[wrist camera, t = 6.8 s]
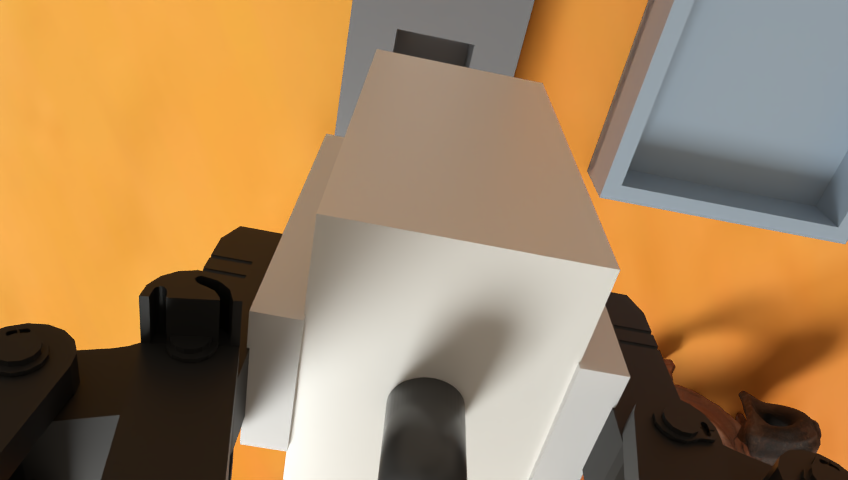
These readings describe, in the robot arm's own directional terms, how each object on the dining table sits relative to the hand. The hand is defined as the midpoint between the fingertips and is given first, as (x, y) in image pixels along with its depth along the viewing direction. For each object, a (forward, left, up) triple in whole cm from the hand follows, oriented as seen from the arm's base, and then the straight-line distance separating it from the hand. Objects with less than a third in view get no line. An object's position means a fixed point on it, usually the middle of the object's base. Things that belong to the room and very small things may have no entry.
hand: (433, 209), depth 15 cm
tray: (-4, +15, -17) cm, 23 cm away
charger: (0, 0, -4) cm, 4 cm away
